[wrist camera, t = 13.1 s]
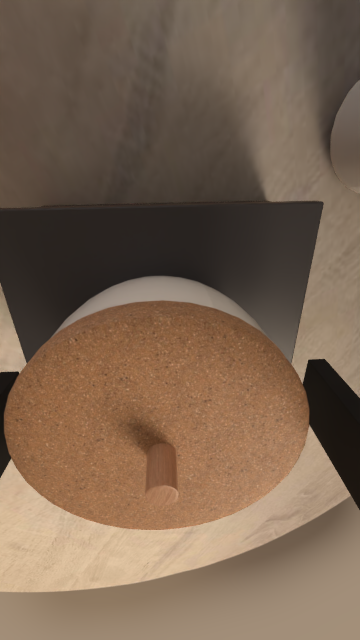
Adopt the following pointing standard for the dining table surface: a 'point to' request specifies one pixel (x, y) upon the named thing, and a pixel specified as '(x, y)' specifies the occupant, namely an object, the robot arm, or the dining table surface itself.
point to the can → (347, 140)
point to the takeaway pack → (157, 258)
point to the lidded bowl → (156, 408)
